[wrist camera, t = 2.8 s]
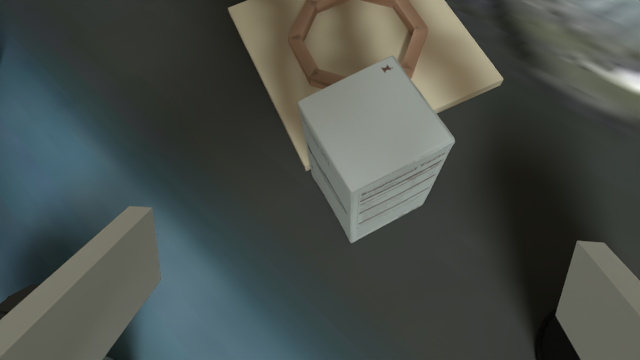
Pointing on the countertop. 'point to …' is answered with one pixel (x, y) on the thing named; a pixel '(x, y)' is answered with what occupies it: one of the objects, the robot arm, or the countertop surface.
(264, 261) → the countertop surface
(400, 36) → the collar board
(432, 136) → the supplement box
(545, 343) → the aerosol can
